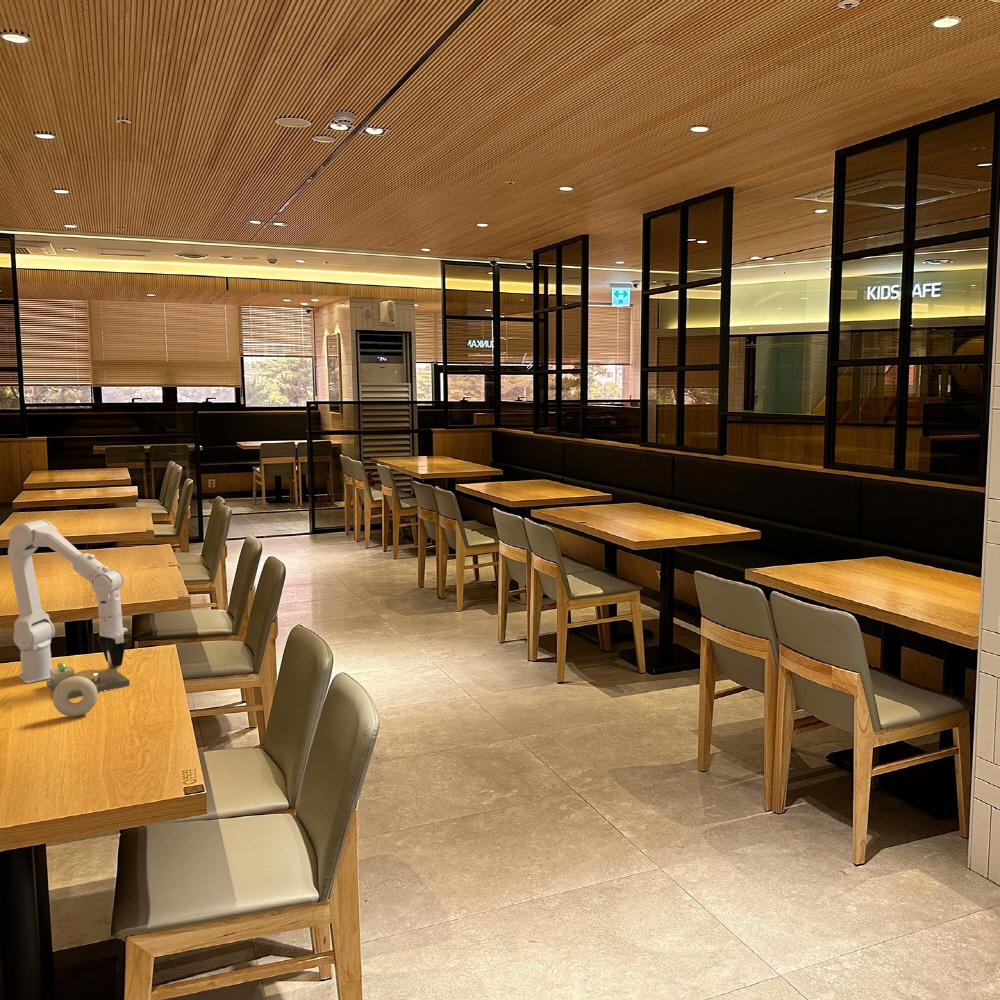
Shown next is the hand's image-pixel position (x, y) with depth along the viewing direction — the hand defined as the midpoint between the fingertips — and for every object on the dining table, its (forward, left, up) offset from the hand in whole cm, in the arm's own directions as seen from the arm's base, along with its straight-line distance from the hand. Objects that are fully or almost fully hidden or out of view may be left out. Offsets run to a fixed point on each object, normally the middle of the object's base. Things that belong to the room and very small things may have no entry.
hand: (114, 663), depth 244 cm
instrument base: (0, -7, -5) cm, 8 cm away
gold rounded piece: (0, -4, -3) cm, 5 cm away
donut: (+22, -16, -5) cm, 28 cm away
